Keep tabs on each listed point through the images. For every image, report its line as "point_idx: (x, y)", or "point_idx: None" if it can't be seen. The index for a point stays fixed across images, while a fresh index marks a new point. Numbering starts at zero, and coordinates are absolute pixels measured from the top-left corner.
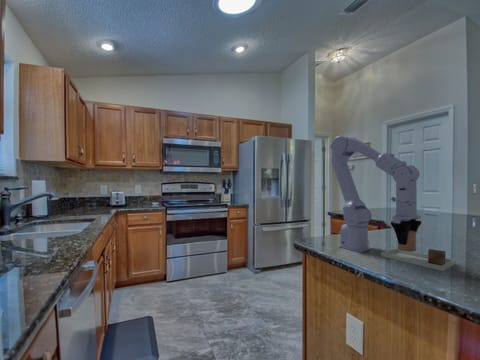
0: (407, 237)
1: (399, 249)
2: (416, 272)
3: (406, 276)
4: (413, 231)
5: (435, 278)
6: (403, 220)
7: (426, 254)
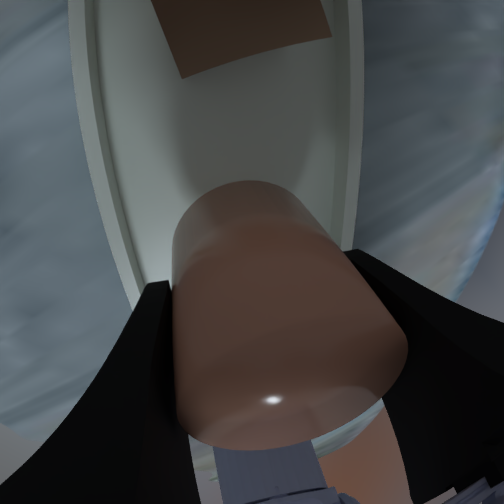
0: (394, 287)
1: None
2: (420, 69)
3: (485, 91)
4: (236, 376)
5: None
6: (488, 494)
7: (88, 155)
